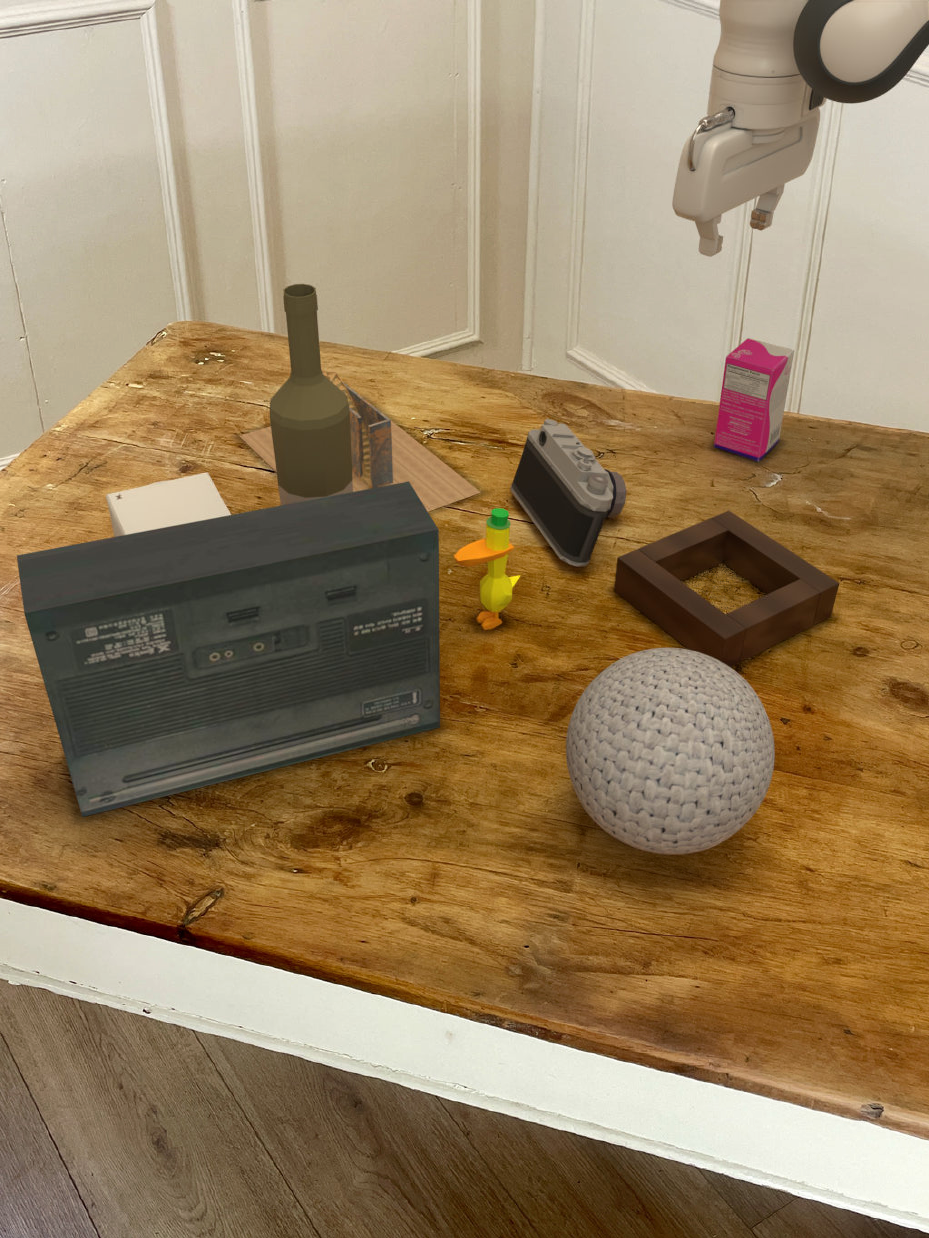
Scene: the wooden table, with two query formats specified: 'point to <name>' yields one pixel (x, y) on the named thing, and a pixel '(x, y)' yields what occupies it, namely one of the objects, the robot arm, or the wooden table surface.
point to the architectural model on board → (383, 455)
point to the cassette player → (237, 642)
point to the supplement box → (753, 398)
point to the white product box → (165, 504)
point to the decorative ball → (670, 751)
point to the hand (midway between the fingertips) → (735, 240)
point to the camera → (566, 491)
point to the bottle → (309, 413)
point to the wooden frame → (728, 539)
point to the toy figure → (492, 567)
